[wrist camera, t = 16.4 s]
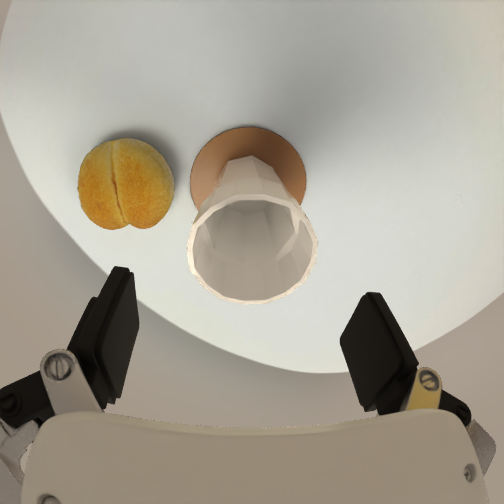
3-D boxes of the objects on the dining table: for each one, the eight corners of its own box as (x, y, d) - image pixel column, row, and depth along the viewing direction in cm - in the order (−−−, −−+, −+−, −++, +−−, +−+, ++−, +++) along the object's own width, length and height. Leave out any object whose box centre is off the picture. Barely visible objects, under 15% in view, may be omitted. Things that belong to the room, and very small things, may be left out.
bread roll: (179, 220, 25) (171, 242, 22) (96, 222, 25) (78, 242, 21) (174, 131, 21) (162, 140, 18) (83, 142, 20) (60, 152, 17)
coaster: (186, 227, 26) (185, 229, 25) (197, 119, 21) (196, 120, 20) (290, 240, 27) (291, 243, 27) (317, 139, 22) (318, 140, 21)
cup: (192, 178, 23) (160, 244, 14) (256, 131, 21) (270, 165, 12) (239, 232, 26) (239, 320, 17) (300, 193, 24) (338, 265, 15)
